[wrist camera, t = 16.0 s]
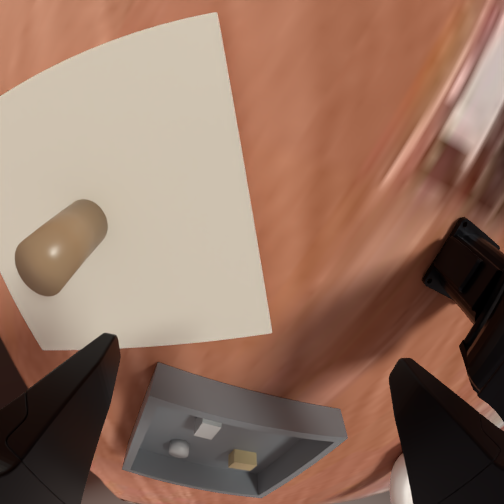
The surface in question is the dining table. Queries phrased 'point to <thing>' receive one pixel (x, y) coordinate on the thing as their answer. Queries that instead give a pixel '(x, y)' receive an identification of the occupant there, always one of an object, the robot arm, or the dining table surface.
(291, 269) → the dining table surface
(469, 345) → the robot arm
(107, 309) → the tub lid
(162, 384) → the tray
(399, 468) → the white shrimp
